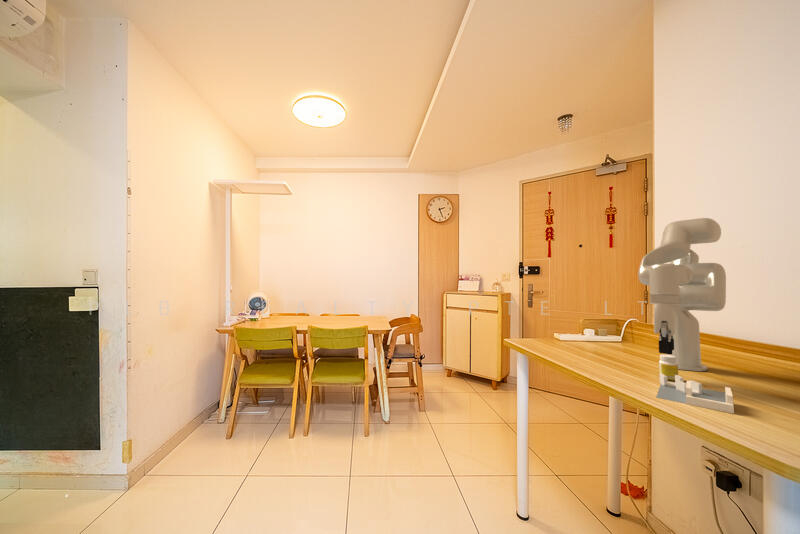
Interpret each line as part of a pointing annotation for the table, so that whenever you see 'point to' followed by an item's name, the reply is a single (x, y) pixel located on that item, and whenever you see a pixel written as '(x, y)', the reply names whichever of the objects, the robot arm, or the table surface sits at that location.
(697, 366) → the robot arm
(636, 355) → the table surface
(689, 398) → the end holder
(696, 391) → the clip
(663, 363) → the supplement bottle
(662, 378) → the clip
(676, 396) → the board
